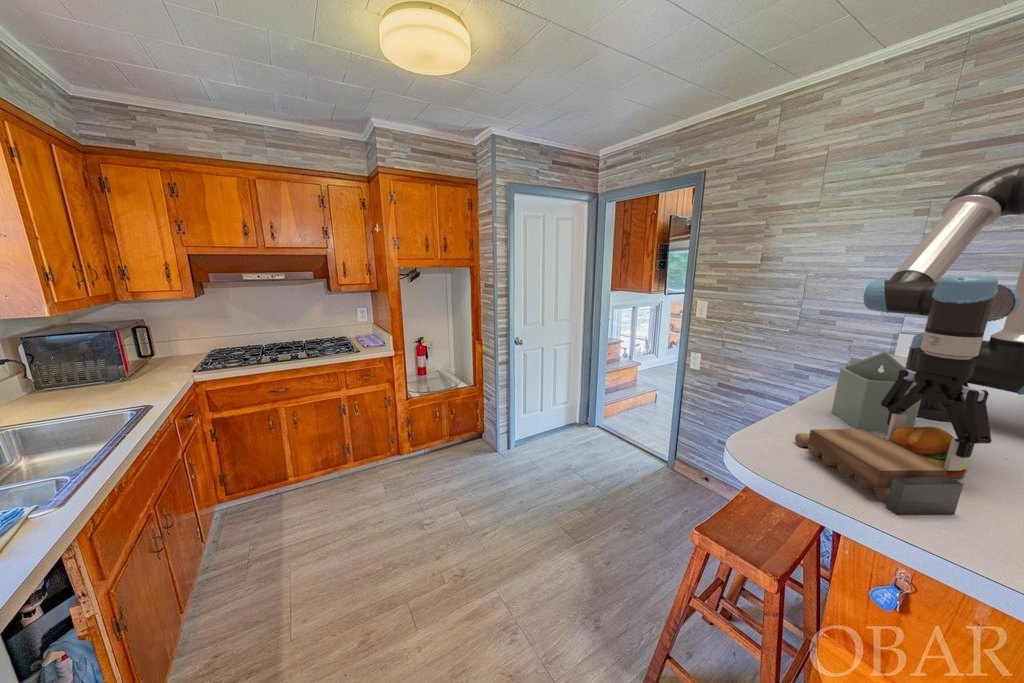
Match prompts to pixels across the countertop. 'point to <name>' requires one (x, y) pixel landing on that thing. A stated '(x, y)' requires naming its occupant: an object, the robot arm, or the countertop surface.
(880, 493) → the cylinder
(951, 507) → the stop rail
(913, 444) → the cheeseburger
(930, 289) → the robot arm
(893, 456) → the board
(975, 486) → the countertop surface
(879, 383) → the planter
